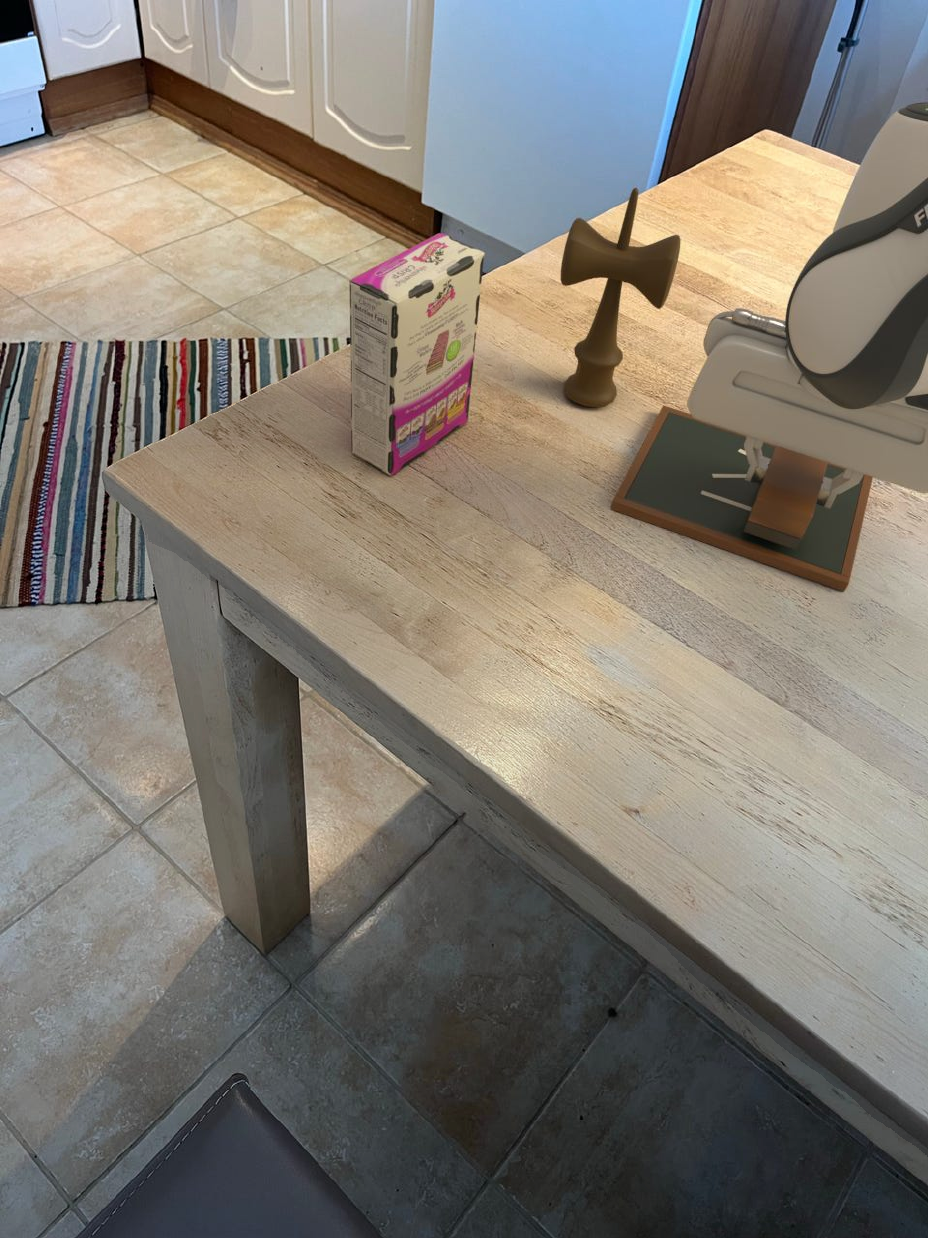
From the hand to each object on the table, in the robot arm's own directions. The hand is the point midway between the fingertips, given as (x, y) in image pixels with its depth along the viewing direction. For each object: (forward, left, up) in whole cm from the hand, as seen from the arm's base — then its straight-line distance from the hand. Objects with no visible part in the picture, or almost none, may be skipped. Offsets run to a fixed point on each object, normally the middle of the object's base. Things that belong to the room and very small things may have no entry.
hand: (788, 490), depth 79 cm
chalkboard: (+3, -2, -4) cm, 5 cm away
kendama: (+20, -9, -4) cm, 23 cm away
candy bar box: (+32, +6, -4) cm, 33 cm away
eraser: (0, 0, -2) cm, 2 cm away
